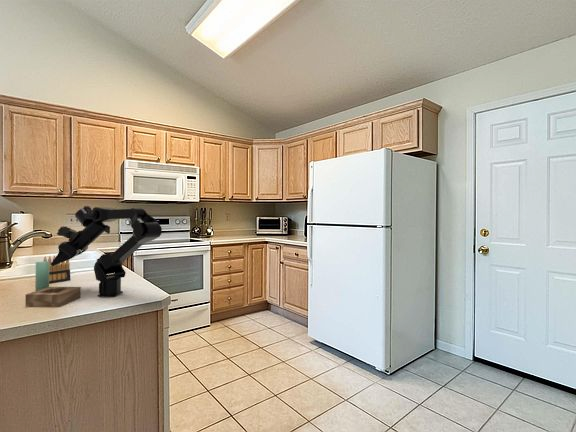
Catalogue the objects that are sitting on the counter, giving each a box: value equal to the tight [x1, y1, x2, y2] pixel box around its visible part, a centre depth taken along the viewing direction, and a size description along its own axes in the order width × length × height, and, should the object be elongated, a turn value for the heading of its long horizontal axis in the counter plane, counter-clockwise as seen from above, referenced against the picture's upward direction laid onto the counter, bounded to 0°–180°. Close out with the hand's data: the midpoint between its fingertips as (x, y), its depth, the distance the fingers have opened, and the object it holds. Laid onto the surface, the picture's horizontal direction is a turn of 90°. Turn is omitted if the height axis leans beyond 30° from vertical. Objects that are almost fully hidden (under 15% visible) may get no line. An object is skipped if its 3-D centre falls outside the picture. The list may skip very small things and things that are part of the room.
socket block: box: [25, 286, 81, 308], centre depth 109 cm, size 11×11×4 cm
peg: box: [34, 260, 50, 292], centre depth 117 cm, size 4×4×12 cm
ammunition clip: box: [43, 255, 71, 285], centre depth 139 cm, size 11×2×12 cm, turn 152°
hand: (55, 263), depth 119 cm, fingers open, 9 cm apart
